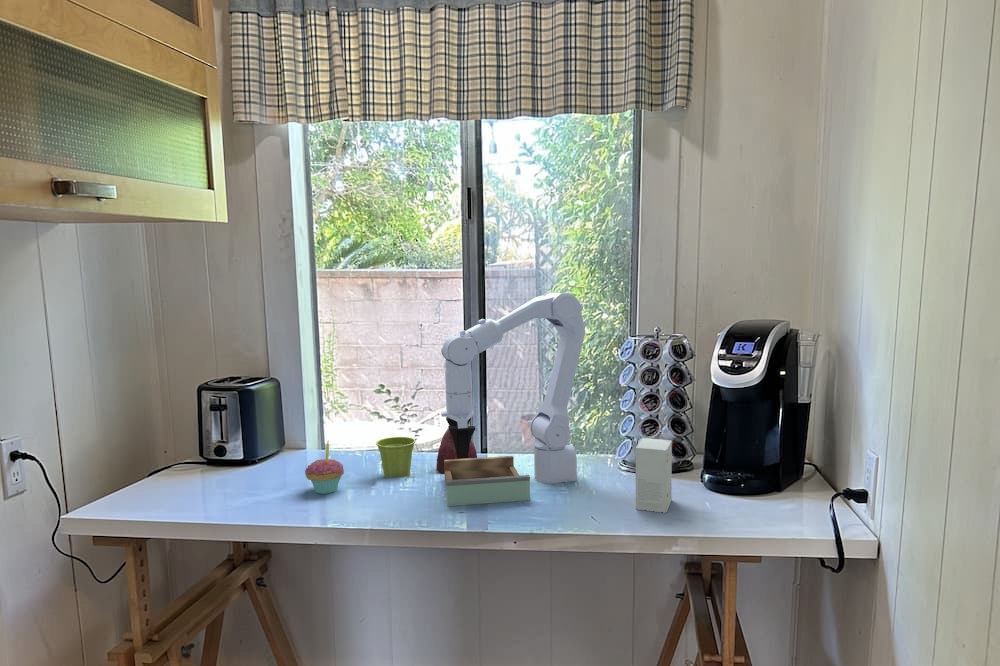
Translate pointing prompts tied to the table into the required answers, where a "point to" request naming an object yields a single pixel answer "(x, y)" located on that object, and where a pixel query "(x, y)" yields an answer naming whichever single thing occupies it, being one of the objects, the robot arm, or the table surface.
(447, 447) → the vegetable
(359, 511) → the table surface
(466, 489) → the green board
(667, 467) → the small box
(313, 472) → the cupcake
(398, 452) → the plant pot
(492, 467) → the cart bed
